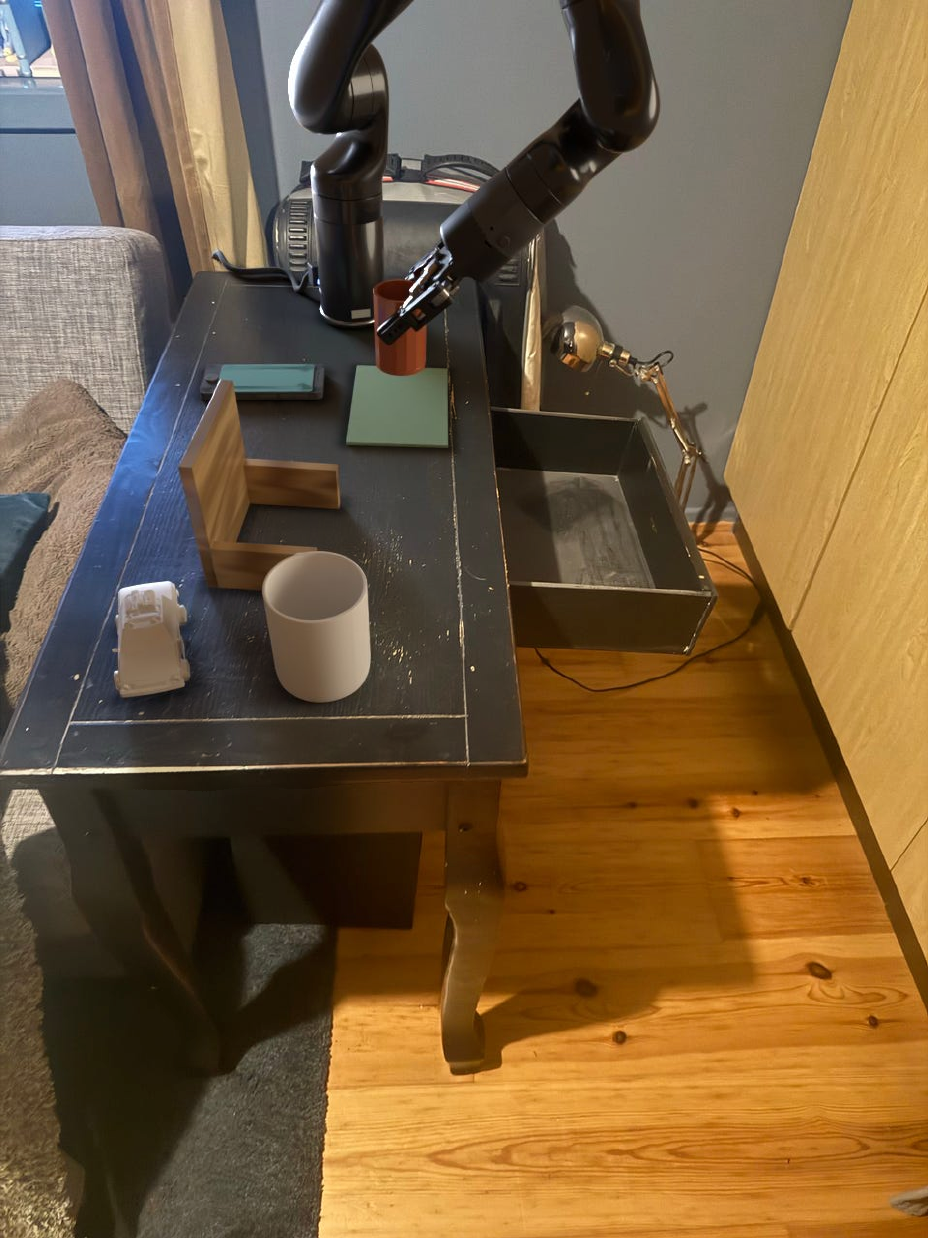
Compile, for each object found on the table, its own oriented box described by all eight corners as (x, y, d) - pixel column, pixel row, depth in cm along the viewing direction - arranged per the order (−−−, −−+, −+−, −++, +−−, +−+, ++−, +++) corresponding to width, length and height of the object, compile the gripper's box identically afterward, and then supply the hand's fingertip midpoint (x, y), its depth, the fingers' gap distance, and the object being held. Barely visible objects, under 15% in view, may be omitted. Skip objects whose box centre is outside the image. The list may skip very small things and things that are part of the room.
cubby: (340, 502, 89) (332, 386, 79) (319, 594, 79) (306, 475, 69) (241, 495, 89) (220, 379, 79) (207, 587, 79) (178, 466, 69)
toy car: (120, 714, 68) (98, 660, 63) (120, 613, 76) (101, 559, 71) (194, 700, 69) (178, 647, 64) (187, 603, 77) (172, 549, 72)
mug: (260, 618, 76) (244, 533, 69) (346, 600, 79) (340, 515, 71) (287, 716, 69) (273, 632, 61) (382, 692, 71) (379, 609, 63)
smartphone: (206, 362, 106) (323, 362, 107) (208, 371, 107) (324, 370, 108) (198, 392, 101) (321, 391, 102) (200, 401, 101) (322, 400, 103)
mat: (357, 367, 109) (357, 364, 109) (447, 371, 110) (447, 368, 109) (346, 444, 97) (346, 441, 96) (447, 448, 97) (448, 445, 97)
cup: (368, 357, 100) (364, 283, 93) (412, 347, 102) (412, 275, 95) (388, 380, 96) (386, 305, 90) (434, 370, 98) (435, 296, 92)
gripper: (472, 174, 90) (369, 275, 99) (467, 223, 80) (353, 330, 88) (516, 227, 94) (413, 320, 102) (516, 280, 84) (402, 378, 92)
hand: (385, 324), depth 95 cm, fingers closed on cup, 6 cm apart
